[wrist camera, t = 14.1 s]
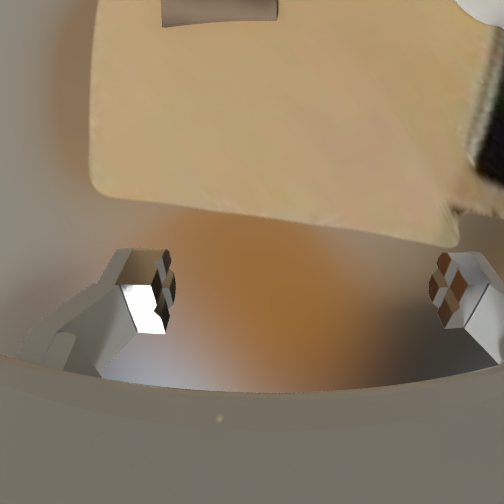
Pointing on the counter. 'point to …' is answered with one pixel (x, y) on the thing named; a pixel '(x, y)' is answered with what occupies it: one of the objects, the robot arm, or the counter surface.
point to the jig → (216, 11)
